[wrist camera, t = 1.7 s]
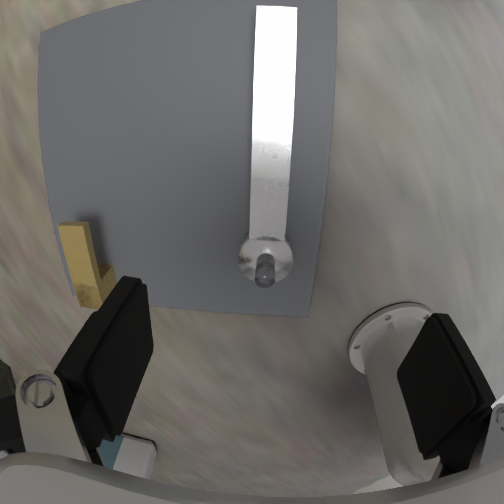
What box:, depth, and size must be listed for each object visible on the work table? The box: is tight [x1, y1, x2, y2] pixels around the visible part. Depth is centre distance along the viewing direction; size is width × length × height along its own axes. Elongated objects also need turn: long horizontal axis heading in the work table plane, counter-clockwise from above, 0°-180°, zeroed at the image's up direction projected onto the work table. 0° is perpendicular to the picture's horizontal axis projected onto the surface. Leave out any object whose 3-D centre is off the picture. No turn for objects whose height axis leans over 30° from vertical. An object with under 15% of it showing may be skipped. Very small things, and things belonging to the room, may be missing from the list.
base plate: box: [38, 0, 337, 317], centre depth 26 cm, size 29×32×2 cm
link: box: [238, 6, 297, 288], centre depth 22 cm, size 24×5×5 cm, turn 178°
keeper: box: [58, 221, 117, 309], centre depth 28 cm, size 3×10×4 cm, turn 178°
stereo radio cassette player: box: [98, 434, 156, 479], centre depth 46 cm, size 21×8×20 cm, turn 84°
